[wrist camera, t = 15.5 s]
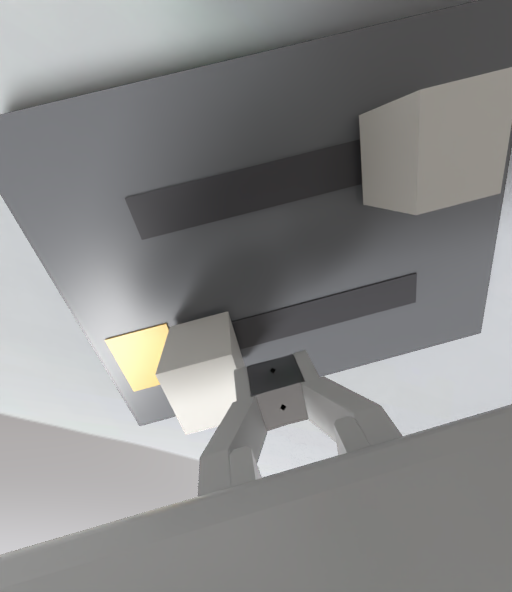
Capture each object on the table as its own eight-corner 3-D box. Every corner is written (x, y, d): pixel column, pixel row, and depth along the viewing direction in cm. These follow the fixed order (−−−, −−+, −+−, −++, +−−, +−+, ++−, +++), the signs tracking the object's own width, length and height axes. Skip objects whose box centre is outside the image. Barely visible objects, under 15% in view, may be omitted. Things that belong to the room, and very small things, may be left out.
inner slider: (358, 115, 11) (420, 89, 8) (429, 97, 11) (520, 64, 8) (363, 204, 12) (415, 215, 9) (426, 188, 12) (500, 193, 9)
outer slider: (169, 326, 14) (155, 374, 10) (228, 311, 14) (231, 354, 10) (192, 378, 15) (185, 435, 12) (244, 364, 15) (252, 416, 12)
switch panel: (-1, 132, 11) (-44, 124, 10) (489, 14, 12) (541, -16, 10) (147, 401, 18) (139, 427, 16) (455, 317, 19) (482, 333, 17)
